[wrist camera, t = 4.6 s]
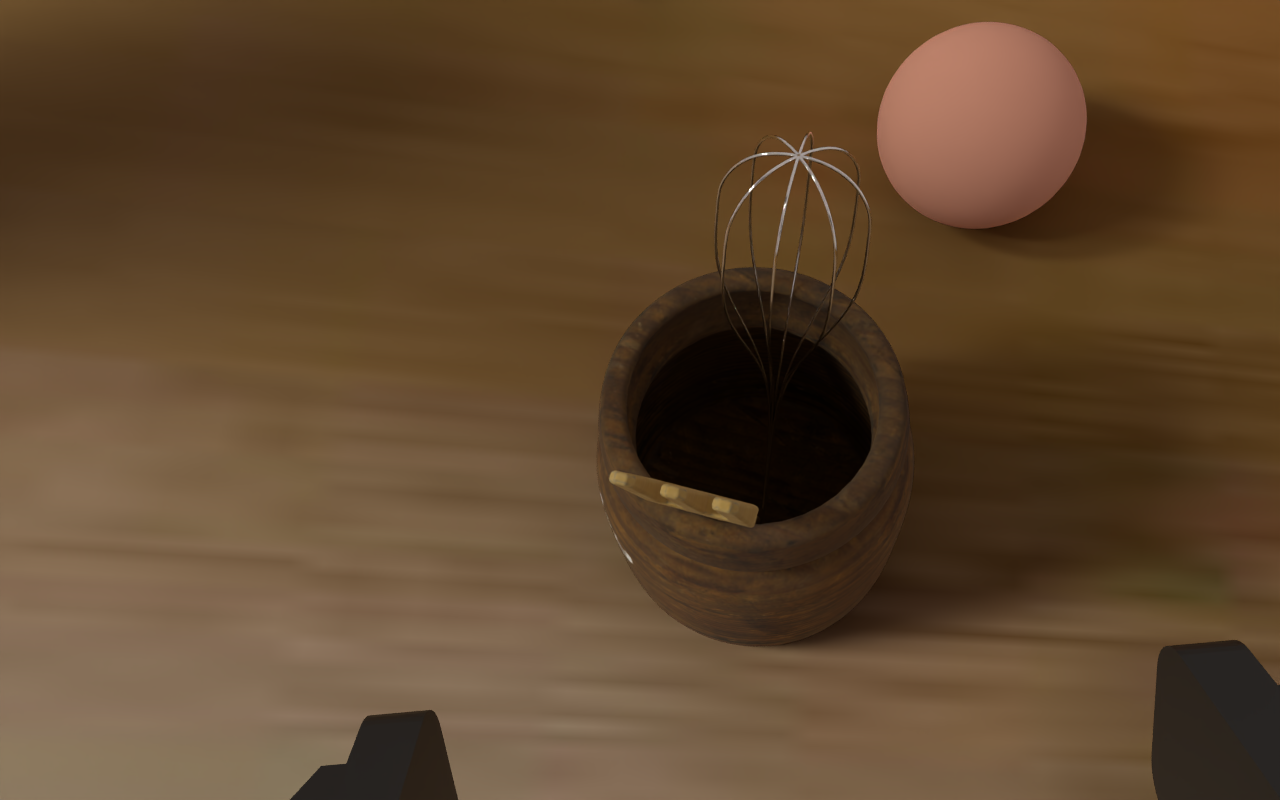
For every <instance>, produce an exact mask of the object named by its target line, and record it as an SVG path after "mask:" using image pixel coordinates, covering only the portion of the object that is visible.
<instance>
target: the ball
mask: <svg viewBox="0 0 1280 800" xmlns="http://www.w3.org/2000/svg"><path fill="white" fill-rule="evenodd" d="M1086 124H1087V111H1086V103H1085V97H1084V93H1083V89H1082V86H1081V84H1080V81H1079V79H1078V77H1077V74H1076V72H1075V71H1074V69H1073V67H1072V65H1071V64H1070V63H1069V61H1068V60H1067V59H1066V58H1065V56H1064V55H1063V54H1062V53H1061V52H1060V51H1059V50H1058V49H1057V48H1056V47H1055V46H1054V45H1053V44H1052V43H1050V42H1049V41H1048V40H1046V39H1045V38H1043V37H1042V36H1040V35H1038V34H1037V33H1034V32H1032V31H1030V30H1028V29H1025V28H1022V27H1019V26H1016V25H1011V24H1007V23H998V22H978V23H970V24H965V25H961V26H958V27H955V28H952V29H949V30H947V31H945V32H942V33H940V34H938V35H936V36H934V37H933V38H931V39H929V40H928V41H926V42H925V43H924V44H922V45H921V46H920V47H919V48H917V49H916V50H915V51H913V52H912V53H911V54H910V55H909V56H908V57H907V59H906V60H905V61H904V62H903V63H902V64H901V66H900V67H899V68H898V70H897V71H896V72H895V74H894V75H893V77H892V79H891V81H890V83H889V85H888V87H887V89H886V91H885V93H884V96H883V99H882V102H881V105H880V109H879V114H878V120H877V143H878V150H879V155H880V159H881V162H882V166H883V168H884V170H885V172H886V175H887V177H888V179H889V181H890V182H891V184H892V185H893V187H894V189H895V190H896V191H897V192H898V194H899V195H900V196H901V197H902V198H903V199H904V200H905V201H906V202H907V203H908V204H909V205H910V206H911V207H913V208H914V209H915V210H917V211H918V212H919V213H921V214H922V215H924V216H926V217H928V218H930V219H932V220H934V221H937V222H939V223H942V224H945V225H949V226H953V227H959V228H966V229H982V228H991V227H996V226H1001V225H1004V224H1007V223H1011V222H1014V221H1016V220H1019V219H1021V218H1023V217H1025V216H1027V215H1029V214H1030V213H1032V212H1033V211H1035V210H1037V209H1038V208H1040V207H1041V206H1042V205H1044V204H1045V203H1046V202H1047V201H1049V200H1050V199H1051V198H1052V197H1053V196H1054V195H1055V194H1056V192H1057V191H1058V190H1059V189H1060V188H1061V187H1062V186H1063V185H1064V183H1065V182H1066V180H1067V179H1068V178H1069V176H1070V174H1071V173H1072V171H1073V169H1074V168H1075V166H1076V163H1077V161H1078V159H1079V157H1080V154H1081V151H1082V147H1083V144H1084V140H1085V134H1086Z"/></svg>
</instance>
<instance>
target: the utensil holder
mask: <svg viewBox="0 0 1280 800" xmlns="http://www.w3.org/2000/svg"><path fill="white" fill-rule="evenodd" d="M809 135H810V150H809V151H806V152H803V153H802V150H803V147H804V144H805V142H806V140H807V138H808V136H809ZM768 138H773V139H777V140H779V141H781V142H782V143H784V144H785V145H786V146H787V147H788V148H789V149H790V150H791V151H792V152H793V153H794V154H793V153H786V152H766V153H760V154H757V151H758V149H759V146H760V145H761V143H762V142H763V141H764V140H766V139H768ZM823 150H836V151H840V152H843V153H845V154H847V155H848V156H849V157H850V158H851V159H852V161H853V162H854V164H855V166H856V170H857V185H856V184H855V182H854V181H853V180H852V179H851V178H850V177H848V176H847V175H846V174H845V173H843V172H842V171H841V170H839V169H837V168H836V167H834V166H832V165H830V164H828V163H826V162H824V161H821V160H818V159H815V158H812V154H813V153H814V152H817V151H823ZM807 154H809V157H808V156H805V155H807ZM771 155H780V156H790V157H792V158H790V159H787V160H786V161H784V162H782V163H780V164H779V165H777V166H775V167H774V168H773V169H771V170H770V171H768V172H767V173H766V174H765V175H763V176H762V177H761V178H760V179H759V180H758V181H757V182H756V183H755V184H754V185H753V181H754V169H755V161H756V158H757V157H762V156H771ZM750 159H753V161H752V170H751V182H750V189H749V190H748V191H747V193H746V194H745V195H744V196H743V198H742V199H741V201H740V202H739V204H738V205H737V207H736V209H735V210H734V212H733V214H732V216H731V218H730V220H729V223H728V226H727V229H726V232H725V239H724V245H723V258H722V271H721V269H720V264H719V259H718V251H717V224H718V210H719V199H720V193H721V188H722V185H723V183H724V181H725V179H726V178H727V177H728V175H729V174H730V173H731V172H732V171H733V170H734V169H735V168H736V167H737V166H739V165H740V164H742V163H744V162H746V161H748V160H750ZM795 159H796V161H795V164H794V167H793V170H792V174H791V177H790V181H789V185H788V189H787V193H786V197H785V201H784V206H783V210H782V215H781V220H780V225H779V230H778V236H777V242H776V248H775V254H774V262H773V268H759V267H756V264H755V257H754V250H753V240H752V193H753V189H754V188H755V187H756V186H757V185H758V184H759V183H760V182H761V181H762V180H764V179H765V178H766V177H767V176H769V175H770V174H771V173H773V172H774V171H775V170H777V169H778V168H780V167H782V166H783V165H785V164H787V163H789V162H791V161H793V160H795ZM803 159H806V160H809V165H807V163H806V162H805V161H804V160H803ZM799 160H800V161H801V162H802V164H803V165H804V166H805V168H806V169H807V171H808V175H807V185H806V194H805V203H804V211H803V219H802V226H801V233H800V240H799V246H798V253H797V259H796V265H795V271H794V272H791V271H786V270H780V269H776V264H777V256H778V250H779V243H780V238H781V232H782V227H783V222H784V217H785V212H786V207H787V203H788V199H789V194H790V190H791V186H792V183H793V179H794V175H795V172H796V168H797V165H798V162H799ZM812 161H813V162H816V163H819V164H822V165H824V166H826V167H829V168H831V169H832V170H834V171H836V172H837V173H839V174H840V175H842V176H843V177H844V178H846V179H847V180H848V181H849V182H850V183H851V184H852V185H853V186H854V187H855V189H856V190H857V191H856V199H855V207H854V215H853V222H852V227H851V233H850V237H849V241H848V245H847V248H846V251H845V254H844V257H843V259H842V261H841V264H840V266H839V269H838V271H837V273H836V269H837V242H836V235H835V230H834V225H833V220H832V217H831V213H830V210H829V207H828V204H827V201H826V198H825V196H824V194H823V191H822V189H821V187H820V185H819V183H818V181H817V179H816V178H815V176H814V174H813V172H812V171H811V165H812ZM810 176H811V177H812V179H813V181H814V183H815V184H816V187H817V189H818V191H819V193H820V195H821V198H822V200H823V203H824V205H825V208H826V211H827V215H828V218H829V222H830V227H831V231H832V237H833V245H834V266H833V276H832V283H831V285H830V286H829V285H827V284H825V283H823V282H821V281H818V280H816V279H813V278H811V277H808V276H805V275H802V274H799V273H797V269H798V263H799V257H800V251H801V245H802V238H803V232H804V225H805V218H806V210H807V202H808V193H809V184H810ZM860 176H861V175H860V169H859V165H858V163H857V161H856V159H855V158H854V157H853V155H852V154H851V153H849V152H848V151H846V150H844V149H842V148H838V147H820V148H816V149H813V134H812V132H811V131H808V132H807V133H806V135H805V136H804V139H803V141H802V143H801V146H800V149H799V151H798V152H797V151H796V150H795V149H794V148H793V147H792V146H791V145H790V144H789V143H788V142H787V141H785V140H784V139H782V138H780V137H778V136H775V135H767V136H765V137H763V138H762V139H761V140H760V141H759V142H758V144H757V146H756V148H755V151H754V154H753V155H752V156H749V157H747V158H745V159H742V160H741V161H739V162H738V163H736V164H735V165H734V166H732V167H731V168H730V169H729V170H728V172H727V173H726V174H725V175H724V177H723V178H722V180H721V182H720V185H719V188H718V193H717V199H716V210H715V225H714V249H715V259H716V264H717V269H718V271H717V272H714V273H710V274H706V275H703V276H700V277H697V278H695V279H692V280H690V281H688V282H685V283H683V284H681V285H679V286H677V287H675V288H674V289H672V290H670V291H669V292H667V293H666V294H664V295H663V296H661V297H660V298H658V299H657V300H656V301H655V302H653V303H652V304H651V305H650V306H649V307H647V308H646V309H645V310H644V311H643V312H642V313H641V314H640V315H639V316H638V317H637V318H636V320H635V321H634V322H633V323H632V324H631V325H630V327H629V328H628V329H627V331H626V332H625V334H624V335H623V337H622V338H621V340H620V341H619V343H618V345H617V347H616V349H615V351H614V353H613V355H612V357H611V359H610V362H609V364H608V367H607V370H606V373H605V377H604V381H603V386H602V392H601V399H600V407H599V437H598V444H597V474H598V483H599V488H600V494H601V498H602V502H603V506H604V509H605V512H606V515H607V518H608V521H609V523H610V526H611V529H612V531H613V533H614V535H615V538H616V540H617V542H618V544H619V546H620V548H621V550H622V553H623V555H624V557H625V559H626V561H627V563H628V564H629V566H630V568H631V570H632V571H633V573H634V575H635V577H636V578H637V580H638V581H639V582H640V584H641V585H642V587H643V588H644V590H645V591H646V592H647V593H648V594H649V596H650V597H651V598H652V599H653V600H654V601H655V602H656V603H657V604H658V605H659V606H660V607H661V608H662V609H663V610H664V611H665V612H666V613H667V614H669V615H670V616H671V617H673V618H674V619H675V620H677V621H678V622H680V623H681V624H683V625H685V626H686V627H688V628H690V629H692V630H694V631H695V632H697V633H699V634H702V635H704V636H707V637H709V638H712V639H715V640H718V641H722V642H726V643H730V644H736V645H743V646H773V645H780V644H786V643H790V642H794V641H798V640H801V639H804V638H807V637H809V636H811V635H814V634H816V633H818V632H820V631H822V630H824V629H826V628H828V627H829V626H831V625H832V624H834V623H835V622H837V621H839V620H840V619H841V618H843V617H844V616H845V615H846V614H848V613H849V612H850V611H851V610H852V609H853V608H854V607H855V606H856V605H857V604H858V603H859V602H860V601H861V600H862V599H863V598H864V597H865V595H866V594H867V593H868V592H869V590H870V589H871V588H872V586H873V585H874V583H875V582H876V580H877V579H878V577H879V575H880V574H881V572H882V570H883V568H884V566H885V564H886V562H887V560H888V558H889V556H890V554H891V551H892V549H893V547H894V544H895V542H896V539H897V537H898V534H899V532H900V529H901V527H902V524H903V521H904V518H905V515H906V512H907V508H908V504H909V500H910V496H911V491H912V484H913V477H914V446H913V438H912V432H911V428H910V418H909V406H908V398H907V393H906V388H905V383H904V379H903V375H902V372H901V368H900V365H899V363H898V360H897V358H896V355H895V353H894V351H893V349H892V347H891V345H890V343H889V342H888V340H887V339H886V337H885V335H884V334H883V332H882V331H881V330H880V328H879V327H878V326H877V324H876V323H875V322H874V321H873V320H872V318H871V317H870V316H869V315H868V314H867V313H866V312H865V311H864V310H863V309H862V308H861V307H860V306H858V305H857V304H856V303H855V302H854V301H855V300H856V298H857V296H858V293H859V291H860V289H861V286H862V283H863V280H864V276H865V271H866V267H867V261H868V254H869V246H870V238H871V228H872V217H871V211H870V207H869V205H868V202H867V200H866V198H865V196H864V195H863V193H862V191H861V190H860ZM749 194H750V195H749ZM859 194H860V196H861V198H862V199H863V201H864V204H865V206H866V209H867V213H868V219H869V222H868V237H867V245H866V253H865V260H864V266H863V271H862V276H861V279H860V282H859V286H858V289H857V291H856V293H855V295H854V297H853V299H852V300H851V299H850V298H848V297H847V296H845V295H844V294H843V293H841V292H839V291H838V290H836V289H834V286H835V281H836V279H837V277H838V275H839V273H840V271H841V269H842V266H843V264H844V261H845V259H846V257H847V254H848V251H849V248H850V244H851V240H852V236H853V232H854V227H855V222H856V215H857V208H858V199H859ZM748 195H749V238H750V248H751V255H752V263H753V267H749V268H735V269H728V270H725V259H726V247H727V240H728V233H729V230H730V227H731V224H732V221H733V219H734V217H735V215H736V213H737V211H738V210H739V208H740V206H741V205H742V203H743V202H744V200H745V199H746V198H747V197H748Z"/></svg>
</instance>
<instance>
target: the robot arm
mask: <svg viewBox="0 0 1280 800" xmlns="http://www.w3.org/2000/svg"><path fill="white" fill-rule="evenodd" d="M1152 773H1153V780H1154V785H1155V789H1156V794H1157V797H1158V800H1280V685H1277V684H1276V683H1275V681H1274V680H1273V679H1272V678H1271V676H1270V675H1269V674H1268V673H1267V671H1266V670H1265V669H1264V668H1263V666H1262V665H1261V664H1260V663H1259V661H1258V660H1257V659H1256V658H1255V657H1254V655H1253V654H1252V653H1251V652H1250V650H1249V649H1248V648H1247V647H1246V646H1245V645H1244V644H1243V643H1241V642H1240V641H1237V640H1229V641H1218V642H1207V643H1196V644H1185V645H1173V646H1165V647H1163V649H1162V650H1161V652H1160V654H1159V658H1158V664H1157V678H1156V694H1155V710H1154V726H1153V742H1152ZM290 800H458V797H457V793H456V789H455V785H454V781H453V777H452V772H451V768H450V764H449V760H448V756H447V752H446V747H445V743H444V739H443V735H442V731H441V727H440V723H439V720H438V718H437V716H436V714H435V712H434V711H432V710H425V711H414V712H403V713H392V714H381V715H370V716H367V717H366V718H365V719H364V720H363V722H362V724H361V727H360V729H359V732H358V735H357V737H356V740H355V742H354V745H353V748H352V750H351V753H350V756H349V758H348V761H347V763H346V764H339V765H327V766H321V767H320V768H319V769H318V770H317V771H316V772H315V773H314V774H313V776H312V777H311V778H310V779H309V780H308V781H307V782H306V783H305V784H304V785H303V786H302V787H301V788H300V790H299V791H298V792H297V793H296V794H295V795H294V796H293V797H292V798H291V799H290Z"/></svg>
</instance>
